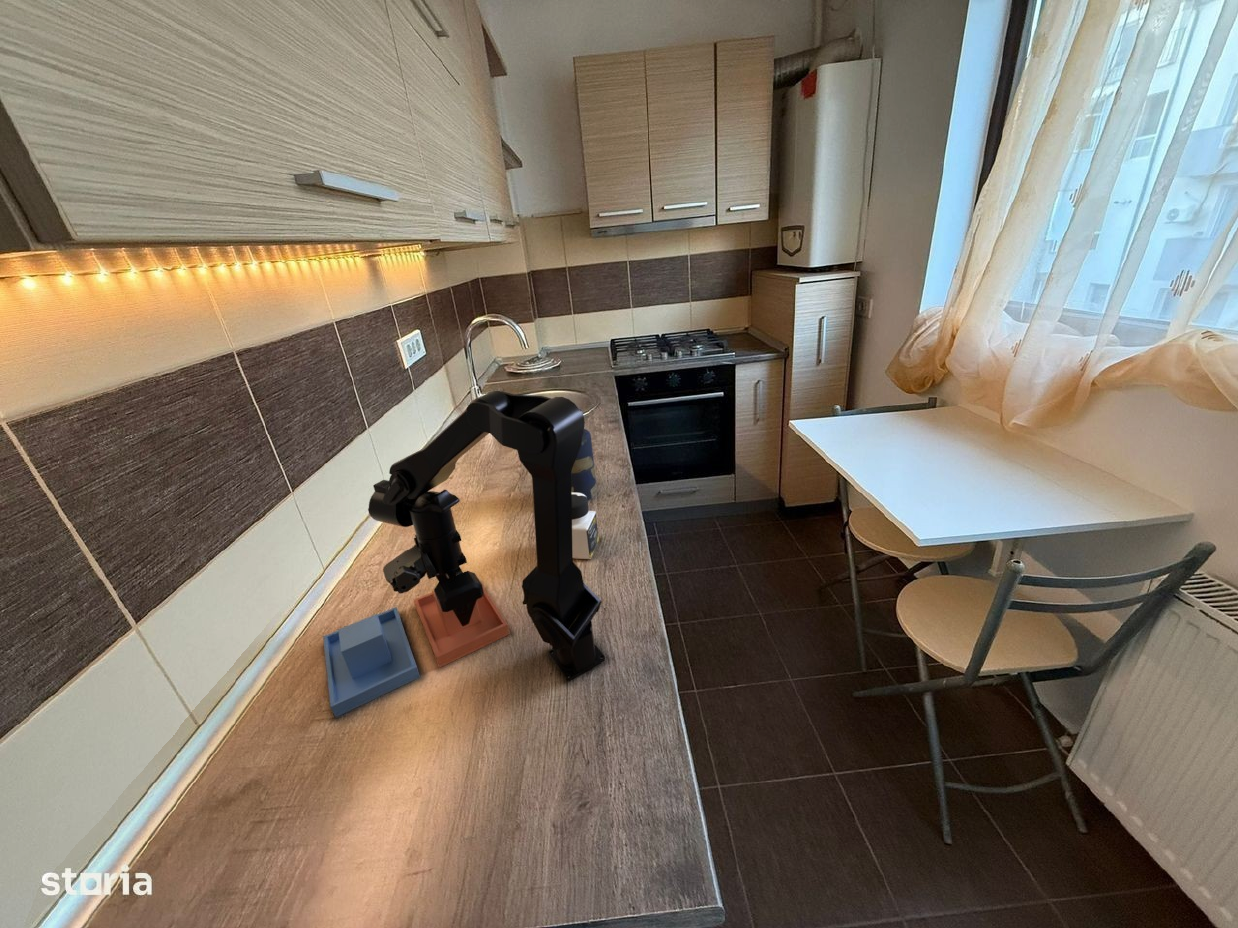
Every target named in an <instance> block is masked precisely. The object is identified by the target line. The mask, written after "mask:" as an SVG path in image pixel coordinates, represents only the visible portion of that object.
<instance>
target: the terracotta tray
mask: <svg viewBox="0 0 1238 928" xmlns="http://www.w3.org/2000/svg"><path fill="white" fill-rule="evenodd" d="M482 587H483V591H484V595H483V596H482V598H479V599H477V605H478V609H479V613H480V617H481V622H479V623H476V624H474V625H472V626H470V627H468V628H465V629H463V630H461V631H459V632H457V633H454V634H452V635H450V636H448V634H447V632H446V630H445V627H444V625H443V623H442V621H441V619H440V616H439V613H438V609H437V606H436V602H435V599H434V596H433V592H432V591H431V592H430V593H427V594H425V595H422V596H420V597H417V598H414V599H413V603H414V606H415V610H416V612H417V615H418V617H419V620H420V622H421V625H422V627H423V630H424V632H425V635H426V638H427V640H428V643H429V645H430V648H431V650H432V653H433V655H434V658H435V661H436V663H437V665H438V668H442V667H444V666H447V665H448V664H450V663H453V662H454V661H457V660H459V659H461V658H463V657H465V656H467V655H470V654H471V653H473V652H475V651H478V650H479V649H482V648H484V647H486V646H488V645H490V644H492V643H494V642H496V641H499V640H500V639H502V638H504V637H507V636H509V635H510V629H509V624H508V622H507V621H506V619H505V618H504V616H503V615H502V613H501V612H500V610H499V608H498V607H497V605H496V604H495V602H494V601H493V599H492V598H491V596H490V594H489V593H488V591H487V590H486V588H485V587H484V585H483V584H482Z"/></svg>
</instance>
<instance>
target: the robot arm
mask: <svg viewBox="0 0 1238 928" xmlns="http://www.w3.org/2000/svg"><path fill="white" fill-rule="evenodd" d="M585 424H586V420H585V416H584V412H583V411H582V409H581V408H579V407H578V406H577V404H576V403H575V402H573V401H572V400H571V399H569V398H567V397H564V396H554V397H552V398H551V397H548V396H544V395H535V394H514V393H510V392H507V391H502V390H493V391H489V392H488V393H485V394H483V395H481V396H479V397H476V398H475V399H473V400H471V401H470V402H469V404H467V407H466V409H464V410H463V411H462V412H461V413H460V414H459V415H458V416H457V417H456V418H455V419H454V420H452V421H451V423H450V424H448V425H447V427H445V428H444V429H443V430H442V431H441V432H440V433H439V434H438V435H437V436H436V437H435V438H433V439H432V440H431V441H430V442H429V443H428V444H427V445H426V446H424V447H423V448H421V449H419V450H418V451H415V452H413V453H412V454H410V455H408V456H405V457H404V458H402V459H400V460H398V461H396V462H393V464H391V466H390V467H389V471H388V473H389V475H390V477H389V479H388V480H387V479H382V480H380V481H378V482H376V483H375V484H373V485H372V486H373V489H374V492H373V493H372V495H371V496H370V498H369V502H368V508H367V511H368V514H369V516H370V518H372V520H374V521H376V522H379V523H384V524H389V525H394V526H397V527H402V528H409V527H412V526H413V529H414V532H415V535H414V537H413V541H414V545H413V546H412V547H410V548H409V549H406V550H404V551H403V552H402V553H400V554H399V555H397V556H396V557H394V558H393V559H391V560H390V561H389V562H387V563H386V564H385V565H384V566H383V568H382V571H383V575H384V577H385V580H386V582H387V583H388V584H389V585H390V586H391V587H392V591H393V592H394V593H395V592H397V593H398V594H405V593H408V592H409V591H411V590H412V589H413V588H415V587H416V586H418V585H419V584H420V583H421V580H422V579H423V578H424V577H425V576H426V577H427V579H428V580H431V579H433V578H436V580H437V581H438V583H437V584H436V586H435V587H434V589H433V591H434V592H435V595H436V598H437V601H438V603H439V605H440V608H441V610H442V612H449V611H451V610H453V612H454V613H455V615H456V617H457V618H458V620H459V622H460V623H461V625H462V626H465V625H467V624H469V622H470V619H471V616H472V613H473V609H474V606H475V604H476V601H477V599H479V598H482V596H483V595H484V591H483V587H484V586H483V587H482V585H483V583H482V582H481V580H480V579H479V578H478V575H477V574H476V573H475V572H473V571H470V570H466V571H463V570H462V568H461V567H460V566H462V565H464V564H467V563H468V561H467V557H466V556H465V554H464V553H463V550H462V546H461V543H460V542H462V538H461V537H462V536H461V534H460V533H459V531H458V530H457V527H456V522H455V520H454V515H453V511H452V508H453V507H454V506H456V505H458V504H459V503H460V502H461V499H460V498H459V497H458V496H456V495H455V494H453V493H450V492H449V490H447V489H443V490H441V491H434V490H433V489H434V488H436V487H437V486H440V485H441V484H443V483H444V482H446V481H447V480H448V479H449V478H450V476H451V475H452V474H453V472H454V471H455V470H456V467H457V462H458V461H459V459H460V458H461V457H463V456H464V455H465V454H466V453H467V452H469V451H470V450H471V449H472V448H473V447H475V446H476V445H477V444H478V443H479V442H480V441H482V440H484V438H485V437H486V436H488V435H489V434H490V435H491V436H492V437H493V438H494V439H495V440H496V441H497V442H498V443H499V445H501V446H503V447H506V448H509V449H512V450H516V451H517V455H518V459H519V461H520V463H521V464H522V465H523V467H524V468H525V469H526V470H527V472H528V473H529V474H530V476H531V485H532V502H533V518H534V538H535V553H536V554H535V555H536V566H535V567H534V568H533V569H532V570H531V571H530V572H529V573H528V574H527V575H526V576H525V577H524V578H523V579H522V581H521V582H522V583H521V588H522V592H523V601H522V605H524V606H525V605H526V610H527V614H528V616H529V617H530V619H531V622H532V623H533V625H534V627H535V629H536V631H537V633H538V635H539V637H540V638H541V640H542V642H543V643H546V644H549V646H551V649H549V650H548V656H549V657H550V659H551V660H552V662H553V663H554V664H555V666H556V667H557V669H558V671H559V672H560V673H561V675H562V676H563V678H564V679H565V680H566V681H568V682H569V681H572V680H573V679H575V678H577V677H579V676H580V675H582V674H584V673H586V672H588V671H589V670H591V669H593V668H595V667H597V666H598V665H600V664H601V663H604V662H605V660H606V656H605V654H604V653H603V652H602V651H601V649H600V648H599V647H598V646H597V644H595V637H594V630H593V624H592V623H593V622H592V620H593V619H594V617H595V615H596V614H597V613H598V612H599V611H600V609H601V605H602V600H601V598H599V597H598V596H597V595H596V593H594V592H593V591H592V590H591V589H590V588H589V587H588V585H587V584H586V583H584V578H583V573H582V571H581V569H580V568H579V567H578V565H577V564H576V563H575V562H574V560H573V559H574V558H573V554H572V487H571V472H572V468H573V465H574V463H575V460H576V458H577V455H578V453H579V450H580V447H581V443H582V437H583V432H584V429H585Z"/></svg>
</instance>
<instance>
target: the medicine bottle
mask: <svg viewBox="0 0 1238 928" xmlns="http://www.w3.org/2000/svg"><path fill="white" fill-rule="evenodd" d="M598 528H599V527H598V519H597V511H596V510H590V509H589V500H587V497H586V496H585V495H584V494H582V493H576V492H574V493H572V554H573V559H579V560H591V559H592V557H593V555H594V552H595V550H596V548H597V546H598V542H599V540H600V538H599V536H600V535H599V529H598Z"/></svg>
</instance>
